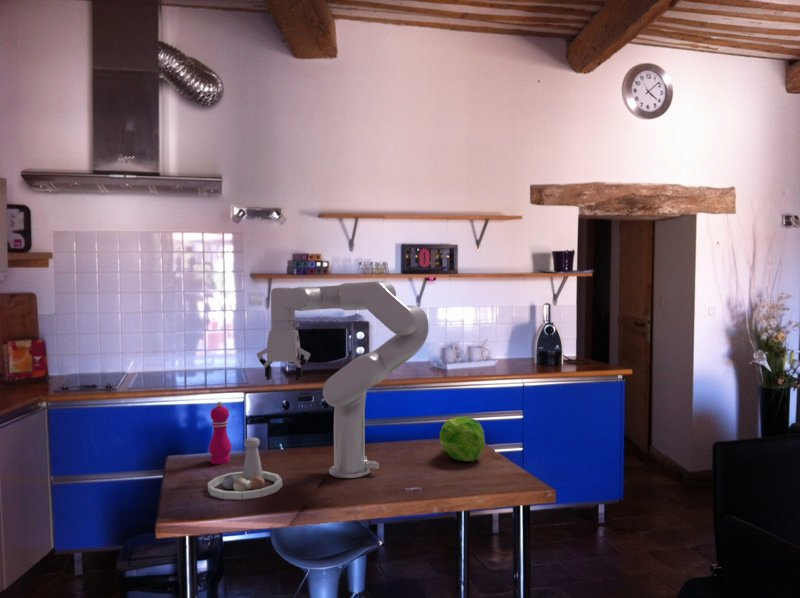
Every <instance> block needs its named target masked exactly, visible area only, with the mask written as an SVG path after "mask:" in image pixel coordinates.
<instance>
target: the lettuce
mask: <svg viewBox="0 0 800 598" xmlns="http://www.w3.org/2000/svg"><path fill="white" fill-rule="evenodd" d="M485 438H486V437H485V431H484V429H483V426H482V424H481V423H480V422H479V421H477V420H476V419H475V418H473V417H468V416H461V417H459V416H458V417H453V418H450V419H447V420H446V421H445V422H444V424H443V425H442V426H441V429H440V431H439V443H440V445H441V447H442V449H443V450H444V451H445V453H446V454H447V455H449V456H450V458H452V460H453V459H454V460H457V461H460V462H475V460H476V459H477V458H478V457H479V456H480V455H481V454H482V452H483V451H484V449H485V445H486V439H485Z"/></svg>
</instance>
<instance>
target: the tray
mask: <svg viewBox="0 0 800 598" xmlns="http://www.w3.org/2000/svg"><path fill="white" fill-rule="evenodd" d="M262 472H263V475H262V477H263V479H264V480H268V481H272V482H274V483H273V484H272V485H269V486H265V487H263V488H262V489H258V490H253V489H252V488H251V486H250V480H247V482H248V488H247V490H246V491H243V492H240V491H235V490H234V491H233V490H224V489H220V488H216V487H217V486H218V485H221V484H223V480H224V478H225V477H226V476H228V475H234V476H235V477H236V478H237V479H238V478H243V477H242V474H243V471H235V472H230V473H225V474H222V475H219V476H215V477H214V478H213V479H211V480H210V481H209V482H207V491H208V493H209V495H210V496H211V497H215V498H219V499H223V500H248V499H257V498H262V497H266V496H269V495H272V494H274V493H277V492H278V491H279V490H280V489H281V488H282V487H283V479H282V478H281V476H280V475H279V474H278V473H275V472H270V471H266V470H265V471H264V470H262ZM249 489H251V490H249Z"/></svg>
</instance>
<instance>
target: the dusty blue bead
mask: <svg viewBox="0 0 800 598" xmlns="http://www.w3.org/2000/svg"><path fill="white" fill-rule="evenodd" d="M235 480H237V478H236V477H235V476H234V475H228V476H226V477H225V478H224V480H223V483H222V485H223V487H224V488H225V489H226V490H234V487H233V485H234V482H235Z"/></svg>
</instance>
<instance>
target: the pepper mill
mask: <svg viewBox="0 0 800 598" xmlns="http://www.w3.org/2000/svg"><path fill="white" fill-rule="evenodd" d="M210 411H211V412H210V419H211V420H212V422H211V425H212V427H213V435H212V437H211V440H210V442H209V445H208V446H209V447H208V452H209V453H210V455H211V456H210V463H211V464H213V465H224V464H228V463H230V462H231V455H230V453H231V451H232V450H233V449H232V443H231V441H230V439H229V436H228V433H227V427H228V425H229V424H228V423H229V421H228V419H229V417H230V411H229V409H228V407H226V406H223V402H221V401H218V402H217V403H216V406H215V407H213V408H212V409H211V410H210Z"/></svg>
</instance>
